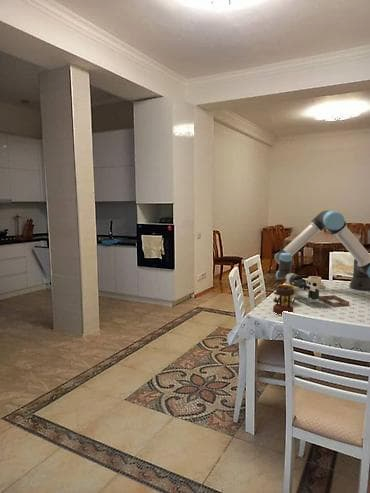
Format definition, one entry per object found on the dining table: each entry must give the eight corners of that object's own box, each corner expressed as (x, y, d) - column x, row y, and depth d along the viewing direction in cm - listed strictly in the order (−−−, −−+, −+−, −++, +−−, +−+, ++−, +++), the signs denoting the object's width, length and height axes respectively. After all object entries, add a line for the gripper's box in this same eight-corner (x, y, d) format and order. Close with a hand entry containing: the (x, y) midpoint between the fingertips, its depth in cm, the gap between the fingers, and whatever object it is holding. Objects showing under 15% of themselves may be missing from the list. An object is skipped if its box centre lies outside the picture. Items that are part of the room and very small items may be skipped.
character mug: (301, 298, 207) (303, 276, 205) (307, 296, 212) (309, 275, 210) (319, 302, 199) (320, 279, 197) (325, 299, 204) (326, 278, 202)
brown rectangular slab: (333, 298, 216) (333, 295, 216) (349, 305, 202) (349, 301, 202) (318, 299, 214) (318, 295, 214) (332, 306, 200) (332, 302, 200)
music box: (266, 313, 188) (269, 276, 186) (274, 309, 197) (276, 274, 196) (295, 318, 179) (298, 279, 178) (301, 314, 188) (304, 277, 187)
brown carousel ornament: (295, 305, 202) (296, 289, 200) (277, 304, 204) (278, 288, 202) (293, 300, 212) (294, 284, 210) (276, 299, 214) (277, 283, 212)
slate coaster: (314, 299, 213) (314, 298, 213) (328, 306, 200) (328, 305, 200) (299, 300, 211) (299, 299, 211) (312, 307, 198) (312, 306, 198)
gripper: (306, 284, 225) (333, 293, 204) (280, 287, 218) (305, 296, 197) (307, 273, 224) (334, 280, 203) (281, 275, 217) (306, 283, 196)
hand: (320, 288), depth 200 cm, fingers closed on character mug, 7 cm apart
